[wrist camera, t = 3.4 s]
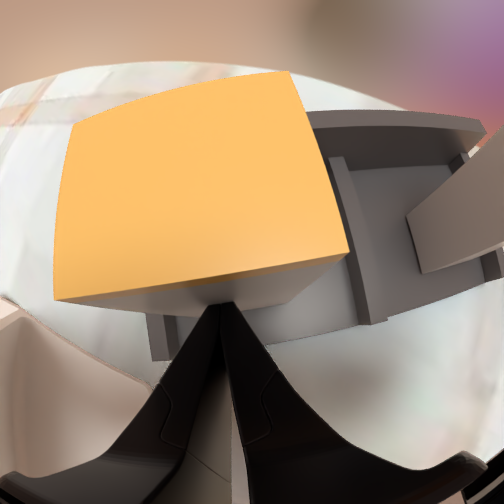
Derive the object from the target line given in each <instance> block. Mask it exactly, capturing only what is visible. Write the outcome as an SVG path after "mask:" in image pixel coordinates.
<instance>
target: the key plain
mask: <svg viewBox="0 0 504 504" xmlns="http://www.w3.org/2000/svg"><path fill="white" fill-rule="evenodd" d="M406 217H407V220H408V223H409V227H410V230H411V233H412V237H413V240H414V244H415V247H416V251H417V255H418V259H419V263H420V267H421V271H422V274H425V273H428V272H432V271H435V270H439V269H442V268H446V267H449V266H452V265H456V264H459V263H462V262H465V261H469V260H472V259H474V258H477V257H479V256H482V255H484V254H487V253H489V252H491V251H494V250H496V249H499V248H501V247H503V246H504V125H503V126H502V127H501V128H500V129H499V130H498V131H497V132H496V133H495V134H494V135H493V136H492V137H491V138H490V139H489V140H488V141H487V142H486V143H485V144H484V145H483V146H482V147H481V148H480V149H479V150H478V151H477V152H476V153H475V154H474V155H473V156H472V157H471V158H470V159H469V160H468V161H467V162H466V163H465V164H464V165H463V166H462V167H460V168H459V169H458V170H457V171H456V172H455V173H454V174H453V175H452V176H451V177H450V178H449V179H447V180H446V181H445V182H444V183H443V184H442V185H441V186H440V187H439V188H437V189H436V190H435V191H434V192H433V193H432V194H431V195H430V196H428V197H427V198H426V199H425V200H424V201H423V202H421V203H420V204H419V205H418V206H417V207H416V208H414V209H413V210H412V211H411V212H410V213H408V214H407V215H406Z"/></svg>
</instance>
